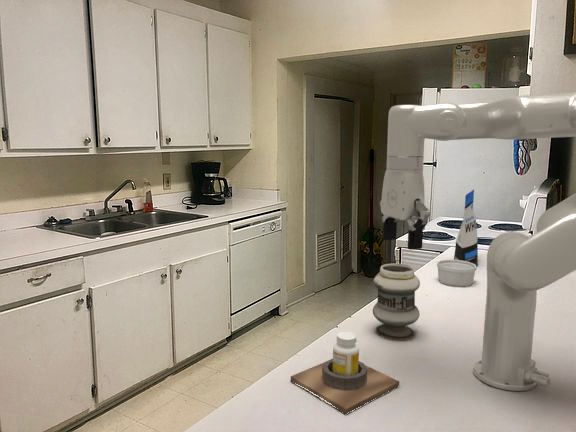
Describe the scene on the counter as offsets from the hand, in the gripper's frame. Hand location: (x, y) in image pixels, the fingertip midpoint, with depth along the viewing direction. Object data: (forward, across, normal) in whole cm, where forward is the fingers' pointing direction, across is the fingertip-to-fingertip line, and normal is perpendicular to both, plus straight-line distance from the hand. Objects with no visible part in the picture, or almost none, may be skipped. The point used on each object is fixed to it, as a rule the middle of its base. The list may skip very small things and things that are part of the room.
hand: (401, 244), depth 103 cm
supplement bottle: (+27, +3, -15) cm, 31 cm away
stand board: (+28, +3, -15) cm, 32 cm away
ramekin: (+29, -48, +55) cm, 78 cm away
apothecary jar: (+28, -16, +10) cm, 34 cm away
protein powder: (+29, -67, +75) cm, 105 cm away
